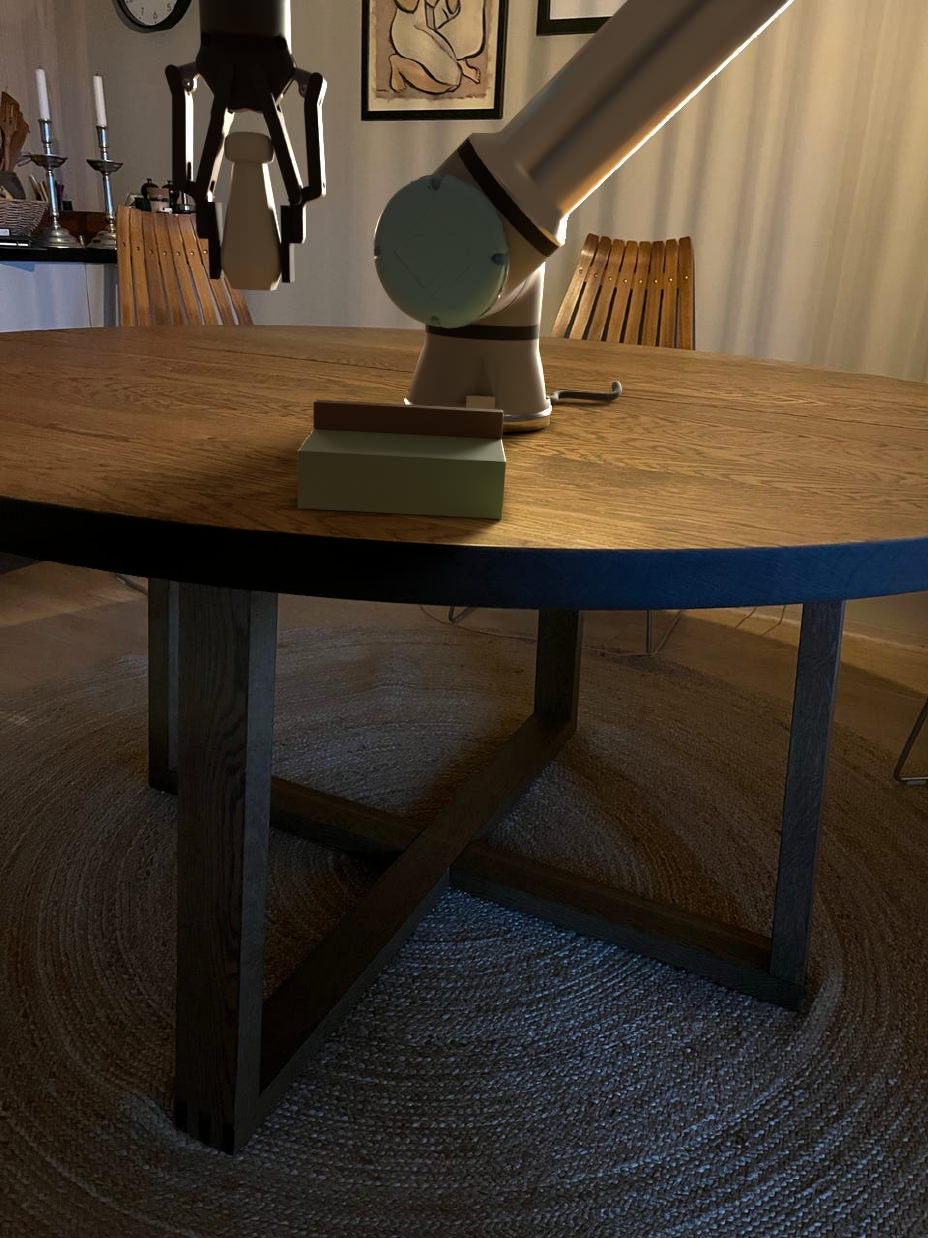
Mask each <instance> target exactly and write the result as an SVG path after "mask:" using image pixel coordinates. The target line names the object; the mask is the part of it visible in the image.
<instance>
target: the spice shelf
mask: <svg viewBox="0 0 928 1238" xmlns="http://www.w3.org/2000/svg"><path fill="white" fill-rule="evenodd" d="M312 408H313V412H312V413H313V429H312V431H311V432H310V434H309V435H308V436H307V437H306V439H305V440H304V442H303V443H302V444H301V446H300V447H299V448H298V450H297V509H301V510H302V509H304V510H322V511H341V512H361V513H376V514H377V513H378V514H379V513H381V514H396V515H397V514H398V515H417V516H434V517H435V516H436V517H454V518H455V517H456V518H473V519H474V518H475V519H490V520H491V519H493V520H503V512H504V499H505V497H504V496H505V485H506V484H505V483H506V470H507V461H506V460H507V459H506V456H505V451H504V445H503V440H502V437H503V432H502V425H503V410H495V409H477V408H459V407H441V406H423V405H405V403H404V404H403V403H387V402H385V403H384V402H367V401H351V400H350V401H349V400H332V399H331V400H330V399H315V400H314V401H313V407H312Z"/></svg>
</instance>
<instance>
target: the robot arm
mask: <svg viewBox="0 0 928 1238" xmlns="http://www.w3.org/2000/svg"><path fill="white" fill-rule="evenodd" d="M793 1H794V0H626V1H625V2H624V3H623V4H622V5H621V6H620V7H619V8H618V9H617V10H616V11H615V12H614V13H613V14H612V15H611V16H610V18H609V19H607V21H606V22H605V23H604V24H603V25H602V26H601V27H600V28H598V30H597V31H596V32H595V33H594V34H593V35H592V36H591V37H590V38H589V39H588V40H587V41H586V42H585V43H584V44H583V46H581V47H580V48H579V49H578V50H577V52H575V53H574V54H573V56H571V58H570V59H568V61H567V62H566V63H565V64H564V65H563V66H562V67H561V68H560V69H559V70H558V71H557V72H556V73H555V74H554V75H553V76H552V77H551V78H550V79H549V80H548V82H547V83H545V84H544V85H543V87H542V88H541V89H540V90H539V91H538V92H536V94H535V95H534V96H533V97H532V98H531V99H530V100H529V101H528V102H527V103H526V104H525V105H524V106H523V107H522V108H521V110H519V111H518V112H517V113H516V114H515V115H514V117H512V118H511V120H509V122H508V123H507V124H506V125H505V126H504V127H503V128H502V129H501V130H499V131H496V132H472V133H471V134H469V135H468V136H467V137H466V138H465V139H464V140H463V141H462V142H461V143H460V144H459V146H457V147H456V149H454V151H453V152H452V153H451V154H450V155H449V156H447V158H446V159H444V161H443V162H442V163H441V164H440V165H439V166H438V167H437V168H436V169H435V170H434V171H433V172H432V173H431V174H426V175H423V176H420V177H419V178H417V179H415V180H411V181H410V182H409V183H408V184H407V183H406V185H404V186H403V187H401V188H400V189H398V190H397V192H395V194H393V196H391V198H390V199H388V202H387V203H386V204H385V206H384V207H383V209H382V211H381V213H380V214H379V217H378V220H377V223H376V227H375V231H374V235H373V260H374V266H375V271H376V274H377V277H378V280H379V283H380V284H381V286H382V289H383V290H384V292H385V294H386V295H387V297H388V298H389V299H390V301H391V302H392V303H393V304H394V305H395V306H396V308H398V309H399V310H400V311H401V312H402V313H403V314H405V315H406V316H408V317H410V318H411V319H413V320H415V321H416V322H419V323H422V324H424V325H425V327H424V328H425V329H424V330H425V331H424V342H423V345H422V348H421V351H420V353H419V356H418V360H417V362H416V366H415V370H414V372H413V376H412V379H411V383H410V387H408V388H407V390H406V393H405V397H404V404H405V405H423V406H441V407H459V408H477V409H495V410H503V425H502V433H507V432H508V433H511V432H512V433H513V432H526V431H527V432H529V431H535V430H539V429H543V428H546V427H548V426H549V425H551V414H552V413H551V412H552V405H555V404H557V403H558V402H559V400H562V399H564V400H565V399H567V400H568V399H571V400H582V401H583V400H586V401H594V402H595V401H597V402H608V401H615V400H617V399H618V398H619V397H620V396H621V394H622V392H623V386H622V384H621V382H620V381H619V380H614V381H613V382H612V383H611V391H610V392H592V391H581V390H579V391H578V390H555V391H553V392H552V393H550V395H548V394H546V384H545V377H544V376H545V375H544V371H543V365H542V360H541V353H540V348H539V344H540V329H541V318H542V306H543V305H542V304H543V296H544V295H543V293H544V283H545V282H544V280H545V268H546V262H547V261H548V260H549V259H550V258H551V257H552V256H553V255H554V254H555V253H556V252H557V251H558V250H559V249H561V248H562V246H563V245H564V244H565V242H566V241H565V239H566V229H567V220H568V219H569V218H568V217H569V215H570V214H571V213H572V212H573V211H574V210H575V209H576V208H577V207H578V206H579V205H580V204H581V203H582V202H583V201H584V200H585V199H587V197H588V196H590V195H591V194H592V193H593V192H594V191H595V190H596V189H597V188H598V187H599V186H600V185H601V184H602V183H604V181H606V179H608V177H610V176H611V175H612V173H614V172H615V170H617V169H618V168H619V167H620V166H621V165H622V164H624V162H625V161H627V159H628V158H630V156H632V155H633V154H634V153H635V152H636V151H637V150H638V149H639V148H640V147H641V146H642V145H643V144H645V142H647V140H648V139H649V138H650V137H651V136H653V135H654V134H655V133H656V132H657V131H658V130H659V129H660V128H661V127H662V126H663V125H664V124H665V123H666V122H667V121H669V119H670V118H671V117H673V116H674V115H675V113H677V112H678V111H679V110H680V109H681V108H682V107H683V106H684V105H685V104H686V103H687V102H689V100H690V99H691V98H693V97H694V96H695V95H696V94H697V93H698V92H699V91H700V90H701V89H702V88H703V87H704V86H705V85H706V84H708V82H709V81H710V80H711V79H712V78H714V77H715V75H717V74H718V73H719V72H720V71H721V70H722V69H723V68H724V67H726V65H727V64H728V63H729V62H730V61H731V60H732V59H733V58H735V57H736V56H737V55H738V54H739V52H741V51H742V50H743V49H744V48H745V47H746V46H747V45H748V44H749V43H750V42H752V41H753V39H754V38H756V37H757V35H759V34H760V33H761V32H762V31H763V30H764V29H765V28H766V27H767V26H768V25H769V24H770V23H771V22H772V21H774V20H775V18H777V17H778V16H779V14H781V13H782V12H783V11H784V10H785V9H786V8H787V7H788V6H789V5H790V4H792V2H793ZM198 16H199V18H198V19H199V39H200V41H199V42H200V43H199V44H200V45H199V49H198V51H197V54H196V56H195V60H194V61H191V62H188V63H185V64H181V65H175V64H168V65H166V67H165V68H164V75H165V79H166V82H167V84H168V88H169V91H170V93H171V185H172V188H173V189H174V190H175V191H177V192H180V193H183V194H185V195H188V196H189V197H190V198H192V200H193V202H194V208H195V209H194V212H195V214H194V215H195V233H196V236H197V238H198V239H199V240H207V249H208V250H207V251H208V252H207V253H208V254H207V255H208V274H209V275H208V277H209V280H224V279H225V273H224V271H223V269H222V268H221V265H220V260H219V259H220V252H221V245H222V238H223V231H224V225H223V204H222V202H219V201H213V200H214V199H215V196H214V193H215V189H216V186H217V181H218V177H219V173H220V170H221V165H222V162H223V156H224V140H225V137H226V136H227V135H228V134H229V133H230V129H231V125H232V124H233V122H234V117H235V113H236V114H237V113H239V114H241V113H246V112H253V113H256V114H259V115H263V120H264V121H265V124H266V127H267V130H268V133H269V138H270V139H271V140H272V144H273V147H274V155H275V158H276V160H277V164H278V167H279V171H280V174H281V178H282V181H283V184H284V188H285V191H286V195H287V202H288V203H289V205H287V204H280V205H279V207H280V209H279V210H280V211H279V212H280V239H281V267H282V275H281V283H282V284H292V283H295V282H296V280H295V279H296V278H295V277H296V275H295V273H296V272H295V244H297V245H298V244H299V245H303V244H304V243H305V241H306V237H307V233H306V231H307V230H306V228H307V227H306V225H307V224H306V223H307V222H306V208H307V206H308V204H309V203H311V202H315V201H317V200H321V199H324V197H325V196H326V193H327V188H326V186H327V185H326V171H325V170H326V169H325V168H326V167H325V153H324V152H325V149H324V134H323V132H324V131H323V115H322V105H323V101H324V98H325V94H326V91H327V85H328V82H327V80H326V79H325V77H324V76H323V75H322V74H321V73H320V72H318V71H314V72H310V71H308V70H305V69H303V68H300V67H298V66H297V63H296V60H295V59H294V56H293V52H292V39H291V36H292V35H291V31H292V30H291V29H292V27H291V0H198ZM199 77H201V79H202V80H203V81H204V83H205V85H206V86H207V88H208V89H209V90H210V92H211V94H212V95H213V99H212V103H211V108H210V118H209V123H208V127H207V131H206V136H205V140H204V144H203V148H202V153H201V155H200V161H199V164H198V171H197V173H196V178H195V181H194V100H193V93H194V92H195V91H197V85H198V84H197V81H198V79H199ZM294 82H296V84H297V86H298V87H297V91H298V94H299V96H300V97H301V98H302V99H303V117H304V132H305V133H304V135H305V136H304V137H305V150H306V168H307V183H308V184H307V186H303V182H302V179H301V175H300V172H299V168H298V165H297V162H296V159H295V155H294V154H295V153H294V152H293V149H292V144H291V141H290V137H289V134H288V130H287V127H286V123H285V122H286V121H285V117H284V114H283V110H282V107H281V104H280V102H281V101H282V99H283V98H284V97H285V95H286V93H287V91H288V90H289V89H290V87H291V86H292V84H293V83H294Z"/></svg>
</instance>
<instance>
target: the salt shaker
mask: <svg viewBox="0 0 928 1238" xmlns="http://www.w3.org/2000/svg"><path fill="white" fill-rule="evenodd" d="M223 155H224V158H225V159H226V160H228V161H229V162H231V163H232V165H231V174H230V180H229V181H230V182H229V191H228V197H227V203H226V209H225V210H226V213H225V217H224V225H223V238H222V245H221V252H220V259H219V260H220V265H221V268H222V269H223V271H224V276H225V277H226V280H227V281H228V283H229V286H230V288H231V289H232V290H241V291H269V292H270V291H276V290H277V288H278V285H279V283H280V280H281V278H282V267H281V232H280V227H279V224H278V216H277V211H276V206H275V200H274V195H273V190H272V184H271V178H270V173H269V172H270V171H269V167H268V165H269V164H271V163H273V162H274V158H275V151H274V147H273V144H272V140H271V137H270V136H268V135H266V134H264V133H260V132H255V131H233V132H229V133H228V135H227V136H226V137H225V140H224V153H223Z"/></svg>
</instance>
